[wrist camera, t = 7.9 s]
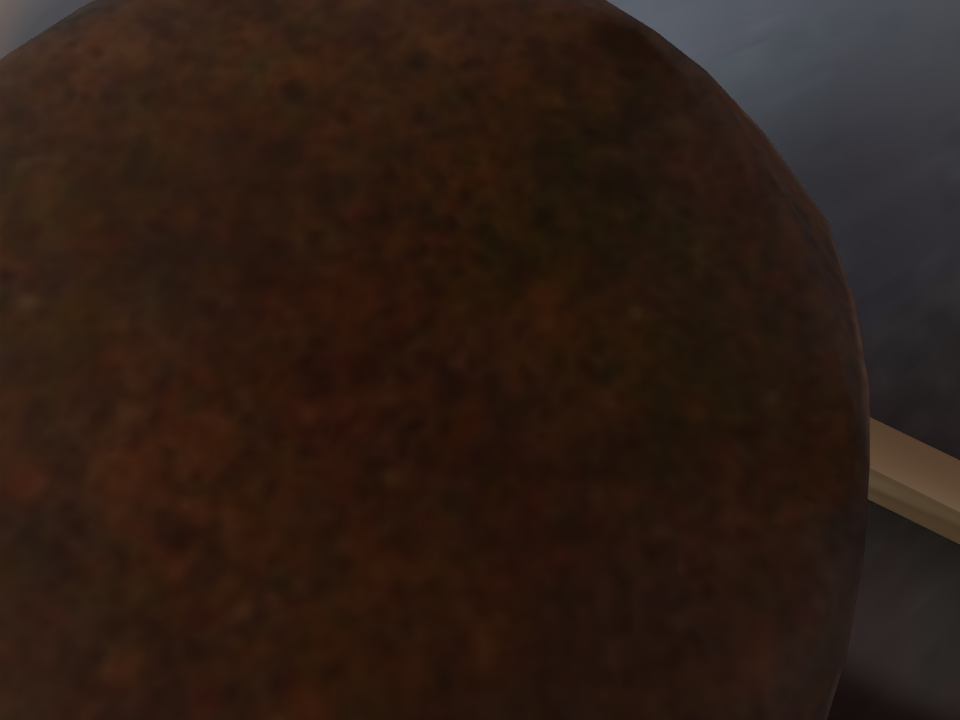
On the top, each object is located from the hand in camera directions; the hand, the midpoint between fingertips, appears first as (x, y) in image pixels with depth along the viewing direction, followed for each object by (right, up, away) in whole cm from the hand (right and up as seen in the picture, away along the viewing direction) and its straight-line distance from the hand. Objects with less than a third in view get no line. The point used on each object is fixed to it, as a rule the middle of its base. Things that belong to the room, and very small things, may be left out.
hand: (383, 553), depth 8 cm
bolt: (0, -1, +9) cm, 9 cm away
